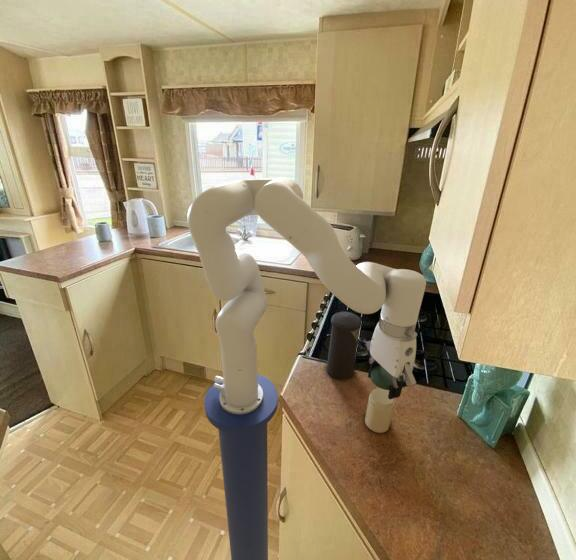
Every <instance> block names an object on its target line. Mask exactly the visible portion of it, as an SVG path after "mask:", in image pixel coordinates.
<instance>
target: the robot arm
mask: <svg viewBox="0 0 576 560" xmlns="http://www.w3.org/2000/svg"><path fill="white" fill-rule="evenodd" d="M247 216H258V217H259V218H260V219H261V220H262V221H264V223H266V224H267V225H268V226H269V227H270V228H272V229H273V230H274V231H275V232H276V233H277V234H279V235H280V236H281V237H282V238H283V239H285V240H286V241H287V242H288V243H289V244H290V245H292V246H293V247H294V248H295V249H296V250H297V251H298V252H299V253H300V254H302V256H304V258H305V259H306V261H307V263H308V264H309V267H310V268H311V270H312V271H313V272H314V273H315V275H316V276H317V278H318V279H319V281H320V282H321V283H322V284H323V286H324V287H325V288H326V289H327V290H328V291H329V292H330V293H331V294H332V295H333V296H334V297H336V298H337V299H338V300H339V301H340V302H341V303H343V304H344V305H345V306H346V307H348V308H349V309H351V310H352V311H354V312H356V313H357V314H358V313H359V314H362V315H371V314H375V313H376V312H378V311H380V309H381V311H380V316H379V320H378V322H377V323H376V326H375V328H374V331H373V334H372V337H371V340H368V341H366V342H365V346H366V349H367V355H368V358H369V359H368V363H369V367H368V368H369V369H368V375H367V378H369V379H371V378H370V377H371V371H372V369H373V368H374V367H377V366H382V367H383V368H384V369H385V370H386V371H387V372H389V373H390V374H391V375H392V381H393V384H392V385H391V386H390V390H388V391H389V394H388V398H389V399H393V398H394V399H395V398H396V399H397V398H400V397H401V395H402V390H403V388H407V387H412V386H415V385H416V384H417V381H416V379H415V376H414V374H413V370H414V367H415V366H414V365H415V362H416V353H417V336H418V333H417V332H416V326H417V324H418V323H417V322H418V318H419V315H420V311H421V306H422V302H423V298H424V295H425V290H426V286H427V280H426V278H425V277H424V275H423V274H421V273H420V272H418V271H415V270H411V269H407V268H406V269H405V268H398V269H397V268H393V267H390V266H387V265H383V264H380V263H376V262H373V261H363V262H360V263H358V264H357V265H356V264H355V263H354V262H353V261H352V260H351V259H350V258H349V256H348V255H347V253H346V252H345V250H344V249H343V248H342V246H341V243H340V241H339V237H338V236H337V232H336V231H335V229H334V227H333V226H332V224H331V223H330V222H329V221H328V220H327V219H325V218H324V217H323V216H322V215H321V214H320V213H318V212H317V211H316V210H315V209H314V208H312V207H311V205H309V204H308V203H307V202H306V201H305V200H304V194H303V190H302V187H301V186H300V184H298V183H297V182H296V181H295V180H293V179H291V178H288V177H276V178H275V177H274V178H273V177H272V178H259V179H258V178H255V179H238V180H233V181H230V182H226V183H223V184H218V185H216V186H213V187H210V188H207V189H206V190H204V191H203V192H201V193H200V194H198V195H197V196H196V197H195V198H194V199H193V201H192V202H191V204H190V206H189V208H188V211H187V218H186V219H187V220H186V221H187V226H188V227H187V228H188V230H189V233H190V235H191V238H192V240H193V242H194V245H195V247H196V250H197V253H198V257H199V259H200V264H201V266H202V270H203V272H204V275H205V279H206V281H207V285H208V288H209V290H210V293H211V294H212V296H213V297H214V298H215V299H217V300H219V301H221V302H226V303H225V304H224V305H223V306H222V308H220V309H221V310H219V312H218V314H217V316H216V319H215V331H216V334H217V337H218V340H219V346H220V355H221V366H222V376H219V375H215V376H214V379H213V382H214V383H215V382H216V383H221V384H223V385H219V384H216V383H215V384H214V383H213V384H214V388H216V389H220V391H221V393H220V404H221V406H222V407H223V409H225V410H226V411H227V412H229V413H232V414H246V413H249V412H252V411H254V410H255V409H256V408H258V407H259V406H260V404H261V403H262V400H263V390H262V388H261V386H260V385H259V384H258V374H259V372H258V347H257V345H258V344H257V340H256V338H255V334H254V333H255V329H256V327H257V326H258V324H259V322H260V320H261V319H262V317H263V316H264V314H265V312H266V311H267V306H268V300H267V294H266V291H265V286H264V283H263V282H264V281H263V278H262V275H261V270H260V267H259V265H258V263H257V261H256V259H255V258H254V256H252V255H251V254H250V253H249V252H247V251H244V250H236V246H235V242H234V240H233V238H232V236H231V234H230V233H229V231H227V228H228V227H229V226H230V225H232V224H234V223H236V222H238V221H241V219H244V218H245V217H247ZM399 376H400V381H398V377H399Z"/></svg>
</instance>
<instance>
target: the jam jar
mask: <svg viewBox="0 0 576 560" xmlns="http://www.w3.org/2000/svg"><path fill="white" fill-rule="evenodd" d="M388 394H389V390H384V389H381V388H379V387H376V388H374V389H372V391H371V392H370V393H369V395H368V399H367V404H366V411H365V416H364V417H365V418H364V423H365V425H366V427H367V428H368V429H369V430H370V431H372V432H374V433H379V434H383V433H385V432H387V431H388V430H389V428H390V426H391V425H390V424H391V420H392V416H393V411H394V407H395V398H393V399H389V398H388Z"/></svg>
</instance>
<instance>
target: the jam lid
mask: <svg viewBox="0 0 576 560" xmlns="http://www.w3.org/2000/svg"><path fill="white" fill-rule="evenodd" d="M369 379H370V381H371V382H372V384H373V385H374V386H375V387H376V388H381V389H384V390H387V391H389V390H390V386H391V385H392V384H393V381H392V375H391V374H390V373H389V372H387V371H386V370H385V369H384V368H383V367H382V366H377V367H374V368H373V369H372V371H371V377H370V378H369ZM398 381H400V376H399V377H398Z"/></svg>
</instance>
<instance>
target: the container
mask: <svg viewBox="0 0 576 560" xmlns="http://www.w3.org/2000/svg"><path fill="white" fill-rule="evenodd" d="M330 324H331V332H330V339H329V340H330V341H329V348H328V356H327V363H326V372H327V373H328V375H330V376H331V377H333V378H335V379H337V380H346V379H349V378H351V377H352V376H353V375H354V372H355V367H356V358H357V350H358V342H359V334H360V329H361V326H362V324H363V321H362V319H361V317H359V316H358V315H357V314H355V313H354V312H350V311H338V312H336V313H334V314H333V315H332V316H331V319H330Z"/></svg>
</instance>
